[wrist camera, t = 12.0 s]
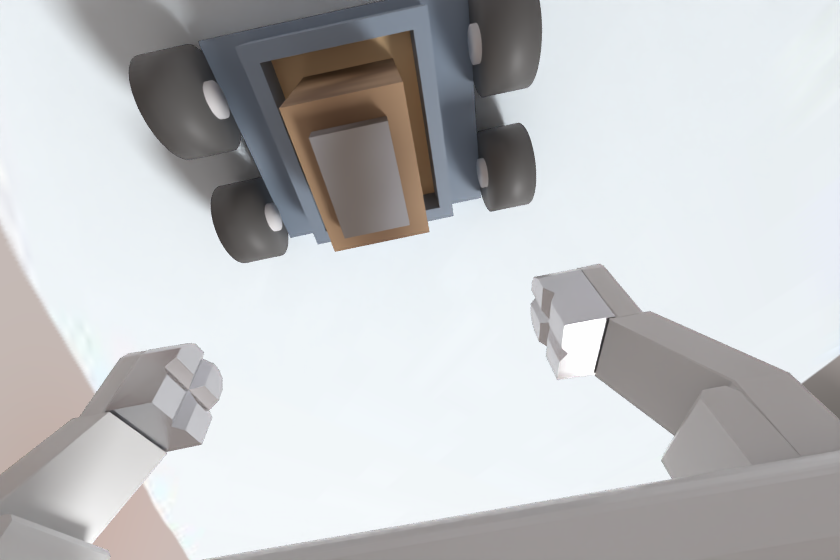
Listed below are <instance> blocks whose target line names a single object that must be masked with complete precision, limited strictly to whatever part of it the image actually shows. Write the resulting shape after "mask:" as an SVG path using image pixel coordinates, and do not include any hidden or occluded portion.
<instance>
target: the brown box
mask: <svg viewBox="0 0 840 560" xmlns="http://www.w3.org/2000/svg"><path fill="white" fill-rule="evenodd" d="M279 109H280V112H281V115H282V117H283V120H284V122H285V125H286V127H287V130H288V132H289V135H290V138H291V140H292V143H293V145H294V148H295V150H296V153H297V156H298V158H299V161H300V163H301V166H302V168H303V171H304V174H305V176H306V179H307V181H308V184H309V186H310V189H311V192H312V194H313V197H314V199H315V202H316V204H317V207H318V209H319V212H320V215H321V217H322V220H323V222H324V225H325V227H326V230H327V233H328V235H329V238H330V240H331V243H332V245H333V248H334V251H335V252H336V251H341V250H346V249H350V248H355V247H360V246H365V245H370V244H374V243H379V242H384V241H389V240H394V239H398V238H403V237H408V236H413V235H417V234H422V233H427V232H429V227H428V221H427V215H426V210H425V204H424V198H423V193H422V187H421V181H420V176H419V170H418V165H417V159H416V153H415V148H414V142H413V136H412V131H411V125H410V119H409V114H408V108H407V102H406V97H405V91H404V86H403V81H402V79H401V76H400V74H399V72H398V69H397V67H396V65H395V62H394V60H393V58H390V59H386V60H381V61H376V62H372V63H367V64H362V65H358V66H353V67H349V68H344V69H339V70H335V71H330V72H325V73H321V74H316V75H312V76H307V77H303V78H302V80H301V81H300V82H299V83H298V85H297V86H296V87H295V89H294V90H293V91H292V92H291V94H290V95H289V96H288V98H287V99H286V100H285V101H284V103H283V104H282V105H281V106H280V108H279Z"/></svg>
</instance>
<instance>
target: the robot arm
mask: <svg viewBox="0 0 840 560" xmlns="http://www.w3.org/2000/svg"><path fill="white" fill-rule="evenodd" d="M531 290H532V292H533V294H534V296H535V299H534V301H533V302H532V303H531V319H532V325H533V328H534V331H535V334H536V336H537V338H538V340H539V342H541V343H543V344H544V345H546V346H547V349H546V357H547V360H548V362H549V364H550V366H551V368H552V370H553V372H554V374H555V376H556V378H557V380H559V379H566V378H572V377H579V376H585V375H592V374H595V376H596V377H597V378H598V379H600V380H601V381H602V382H604V383H605V384H606V385H608V386H609V387H610V388H612V389H613V390H614V391H616V392H617V393H618V394H620V395H621V396H622V397H624V398H625V399H626V400H628V401H629V402H630V403H632V404H633V405H634V406H636V407H637V408H638V409H640V410H641V411H642V412H644V413H645V414H646V415H648V416H649V417H650V418H651V419H653V420H654V421H655V422H657V423H658V424H659V425H661V426H662V427H663V428H665V429H666V430H667V431H669V432H670V433H671V434H673V435H674V438H673V439H672V441H671V443H670V444H669V446H668V448H667V449H666V451H665V453H664V455H663V457H662V459H661V461H662V463H663V465H664V466H665V468H666V470H667V471H668V473H669V475H670V477H671V478H672V479H669V480H663V481H657V482H651V483H645V484H640V485H634V486H628V487H622V488H616V489H610V490H605V491H599V492H593V493H587V494H581V495H576V496H570V497H564V498H558V499H552V500H546V501H541V502H535V503H529V504H523V505H517V506H512V507H506V508H500V509H494V510H488V511H483V512H477V513H471V514H465V515H459V516H453V517H448V518H442V519H436V520H430V521H424V522H419V523H413V524H407V525H401V526H395V527H389V528H384V529H378V530H372V531H366V532H360V533H355V534H349V535H343V536H337V537H331V538H325V539H320V540H314V541H308V542H302V543H296V544H291V545H285V546H279V547H273V548H267V549H261V550H256V551H250V552H244V553H238V554H232V555H227V556H221V557H215V558H209V559H203V560H840V420H839V419H838V418H837V417H836V416H835V415H834V414H833V413H832V412H831V411H830V410H829V409H828V408H826V407H825V406H824V405H823V404H822V403H821V402H820V401H819V400H818V399H817V398H816V397H815V396H813V394H811V393H810V392H809V391H808V390H807V389H806V388H805V387H804V386H803V385H802V384H801V383H800V382H799V381H797V380H796V379H795V378H794V377H793V376H792V375H791V374H790V373H788V372H786V371H784V370H782V369H779V368H777V367H775V366H773V365H770V364H768V363H766V362H764V361H761V360H759V359H757V358H755V357H752V356H750V355H748V354H746V353H743V352H741V351H739V350H737V349H734V348H732V347H730V346H728V345H725V344H723V343H721V342H719V341H716V340H714V339H712V338H710V337H707V336H705V335H703V334H700V333H698V332H696V331H694V330H691V329H689V328H687V327H685V326H682V325H680V324H678V323H676V322H673V321H671V320H669V319H667V318H664V317H662V316H660V315H658V314H655V313H653V312H651V311H648V312H642V311H641V309H640V308H639V307H638V306H637V305H636V304H635V302H634V301H633V300H632V299H631V298H630V296H629V295H628V294H627V293H626V292H625V290H624V289H623V288H622V287H621V286H620V285H619V283H618V282H617V281H616V280H615V279H614V277H613V276H612V275H611V274H610V273H609V272H608V270H607V269H606V268H605V267H604V266H603V265H601V264H596V265H591V266H586V267H581V268H577V269H572V270H567V271H562V272H557V273H552V274H547V275H542V276H537V277H534V278H533V280H532V289H531ZM203 355H204V352H203V351H202V350H201V349H200V348H199V347H198V346H197V345H196V344H193V343H186V344H180V345H174V346H168V347H162V348H156V349H150V350H147V351H141V352H135V353H128V354H127V355H125V356H123V357H122V358H120V359H119V361H118V362H117V363H116V365H115V366H114V368H113V369H112V371H111V372H110V373H109V375H108V376H107V378H106V379H105V381H104V382H103V383H102V385H101V386H100V388H99V389H98V391H97V392H96V394H95V395H94V396H93V398H92V399H91V401H90V402H89V404H88V405H87V406H86V408H85V409H84V411H83V412H82V414H81V415H80V417H78V418H73V419H71V420H70V421H68V422H67V423H66V424H65V425H63V426H62V427H61V428H60V429H58V430H57V431H56V432H54V433H53V434H52V435H50V436H49V437H48V438H47V439H45V440H44V441H43V442H41V443H40V444H39V445H38V446H36V447H35V448H34V449H32V450H31V451H30V452H29V453H27V454H26V455H25V456H23V457H22V458H21V459H20V460H18V461H17V462H16V463H15V464H13V465H12V466H11V467H9V468H8V469H7V470H5V471H4V472H3V473H2V474H0V560H109V559H110V553H109V550H106V549H103V548H101V547H98V546H95V545H93V544H92V543H93V542H94V541H95V539H96V538H97V537H98V536H99V535H100V533H101V532H102V531H103V530H104V529H105V528H106V526H107V525H108V524H109V522H110V521H111V520H112V519H113V518H114V517H115V516H116V514H117V513H118V512H119V511H120V510H121V508H122V507H123V506H124V505H125V504H126V502H127V501H128V500H129V499H130V498H131V496H132V495H133V494H134V493H135V492H136V490H137V489H138V488H139V487H140V486H141V484H142V483H143V482H144V481H145V480H146V478H147V477H148V476H149V475H150V474H151V472H152V471H153V470H154V469H155V468H156V466H157V465H158V464H159V463H160V462H161V460H162V459H163V458H164V457H165V456H166V454H167V453H166V452H168V451H173V450H178V449H182V448H187V447H192V446H197V445H201V444H202V443H203V441H204V438H205V435H206V433H207V430H208V427H209V425H210V422H211V420H212V416H211V413H210V411H209V410H210V409H211V408H212V407H213V406H214V405H215V404H216V403H217V402H218V401H219V398H220V395H221V393H222V376H221V373H220V371H219V369H218V368H217V367H216V365H215V364H214V363H211V362H209V361H207V360H204V359H203Z"/></svg>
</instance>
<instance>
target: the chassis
mask: <svg viewBox="0 0 840 560" xmlns="http://www.w3.org/2000/svg"><path fill="white" fill-rule="evenodd" d="M541 41H542V19H541V8H540V1H539V0H384V1H380V2H375V3H370V4H366V5H361V6H357V7H352V8H347V9H343V10H338V11H334V12H329V13H325V14H320V15H315V16H311V17H306V18H302V19H297V20H293V21H288V22H283V23H279V24H274V25H270V26H265V27H261V28H256V29H251V30H247V31H242V32H238V33H233V34H229V35H224V36H219V37H215V38H210V39H206V40H202V41H198V42H199V45H200V47H201V49H202V51H203V52H202V51H201V50H200V49H198V48H197V47H195V46H193V45H190V44H187V45H182V46H178V47H173V48H168V49H164V50H159V51H155V52H150V53H145V54H141V55H137V56H135V57H134V58H133V59H132V60H131V62H130V66H129V81H130V86H131V90H132V93H133V96H134V99H135V102H136V104H137V106H138V109H139V111H140V113H141V115H142V116H143V118H144V120H145V122H146V123H147V125H148V126H149V128H150V129H151V131H152V132H153V133H154V135H155V136H156V137H157V139H158V140H159V141H160V142H161V143H162V144H163V145H164V146H165V147H166V148H167V149H168V150H169V151H170V152H172V153H173V154H175V155H176V156H178V157H180V158H182V159H186V160H192V159H197V158H201V157H206V156H211V155H215V154H220V153H225V152H229V151H234V150H236V149H237V148H238V147H239V144H240V140H241V134H242V136H243V138H244V140H245V142H246V144H247V146H248V148H249V151H250V153H251V155H252V157H253V159H254V161H255V163H256V165H257V168H258V170H259V172H260V174H261V176H262V178H263V179H261V178H256V179H252V180H247V181H242V182H238V183H233V184H228V185H223V186H219V187H217V188H216V189H215V190H214V192H213V194H212V198H211V214H212V220H213V224H214V227H215V230H216V233H217V235H218V237H219V239H220V241H221V243H222V245H223V247H224V248H225V250H226V251H227V252H228V253H229V255H230V256H231V257H232V258H234V259H235V260H236V261H238V262H241V263H248V262H253V261H257V260H262V259H267V258H272V257H277V256H281V255H284V254H285V252H286V250H287V247H288V233H289V235H290V237H291V238H292V237H296V236H301V235H306V234H311V233H313V234H314V236H315V239H316V241H317V243H318V244H322V243H327V242H331V240H330V238H329V235H328V233H327V230H326V227H325V225H324V222H323V220H322V217H321V215H320V212H319V209H318V207H317V204H316V202H315V199H314V197H313V194H312V192H311V189H310V186H309V184H308V181H307V179H306V176H305V174H304V171H303V168H302V166H301V163H300V161H299V158H298V156H297V153H296V150H295V148H294V145H293V143H292V140H291V138H290V135H289V132H288V130H287V127H286V125H285V122H284V120H283V117H282V115H281V112H280V109H279V108H280V106H281V105H282V104H283V103H284V101H285V100H286V99H287V98H288V96H289V95H290V94H291V92H292V91H293V90H294V89H295V87H296V86H297V85H298V83H299V82H300V81H301V80H302V78H303V77H307V76H312V75H316V74H321V73H325V72H330V71H335V70H339V69H344V68H349V67H353V66H358V65H362V64H367V63H372V62H376V61H381V60H386V59H390V58H393V60H394V62H395V65H396V67H397V69H398V72H399V74H400V76H401V79H402V81H403V86H404V91H405V97H406V102H407V108H408V114H409V119H410V125H411V131H412V136H413V142H414V148H415V153H416V159H417V165H418V170H419V176H420V181H421V187H422V193H423V198H424V204H425V210H426V215H427V221H432V220H436V219H441V218H446V217H451V216H453V208H452V204H454V203H458V202H463V201H468V200H473V199H477V198H481V194H482V198H483V200H484V203H485V205H486V207H487V209H488V210H489V211H491V212H492V211H496V210H501V209H506V208H511V207H516V206H520V205H525V204H529V203H530V202H531V201H532V199H533V196H534V193H535V187H536V165H535V157H534V151H533V147H532V143H531V140H530V137H529V134H528V132H527V130H526V129H525V127H524V126H523V125H522V124H521V123H515V124H510V125H506V126H501V127H496V128H492V129H487V130H482V131H478V133H477V128H476V112H475V97H474V85H475V88H476V90H477V92H478V94H479V95H480V96H481V97H487V96H491V95H496V94H501V93H505V92H510V91H515V90H519V89H524V88H528V87H529V86H530V85H531V84H532V82H533V80H534V78H535V76H536V73H537V69H538V65H539V60H540V53H541ZM240 131H241V132H240Z"/></svg>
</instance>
